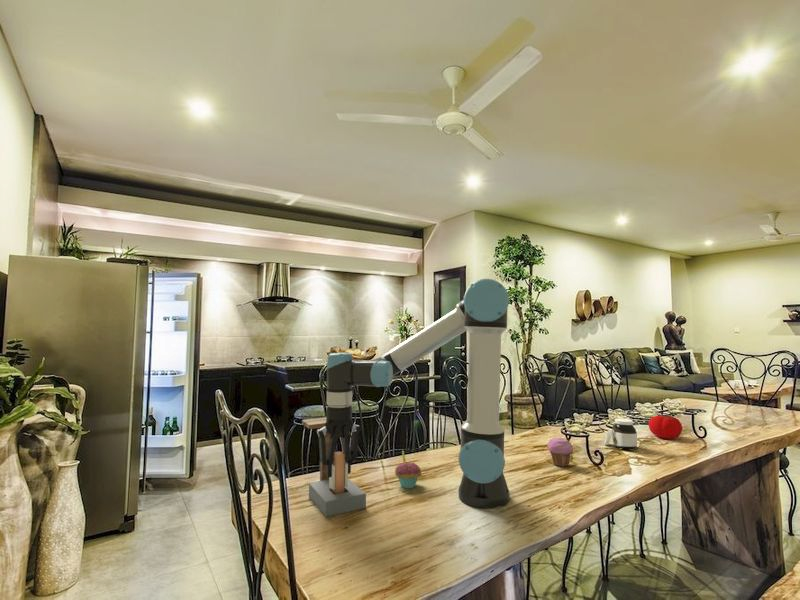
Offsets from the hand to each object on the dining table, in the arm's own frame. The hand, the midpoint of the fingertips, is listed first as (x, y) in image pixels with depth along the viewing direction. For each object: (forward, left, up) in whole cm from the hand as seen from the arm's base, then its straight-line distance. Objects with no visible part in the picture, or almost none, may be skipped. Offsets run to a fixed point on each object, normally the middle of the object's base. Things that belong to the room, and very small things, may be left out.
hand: (338, 486), depth 122 cm
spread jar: (-3, -126, -5) cm, 126 cm away
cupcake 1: (+3, -25, -5) cm, 26 cm away
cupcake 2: (-7, -85, -5) cm, 86 cm away
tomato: (-4, -159, -5) cm, 159 cm away
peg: (0, 0, -5) cm, 5 cm away
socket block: (+2, 0, -5) cm, 6 cm away
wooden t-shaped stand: (+11, 0, -5) cm, 12 cm away
